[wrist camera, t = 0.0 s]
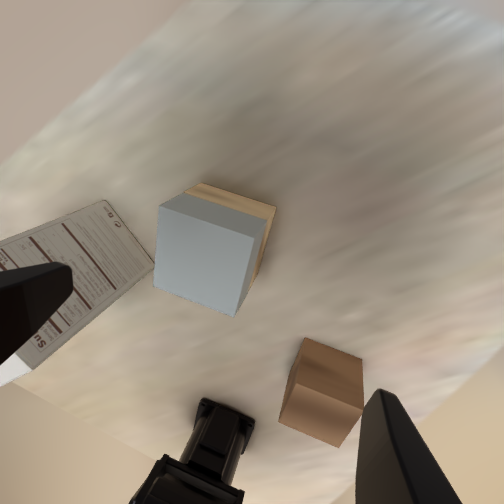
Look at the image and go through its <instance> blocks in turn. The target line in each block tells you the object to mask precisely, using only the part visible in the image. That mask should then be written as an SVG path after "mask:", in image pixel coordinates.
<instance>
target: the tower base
mask: <svg viewBox="0 0 504 504" xmlns="http://www.w3.org/2000/svg"><path fill="white" fill-rule="evenodd" d="M184 193H185V194H188V195H191V196H194V197H197V198H200V199H204V200H207V201H210V202H213V203H216V204H219V205H222V206H225V207H228V208H231V209H234V210H237V211H240V212H243V213H246V214H249V215H252V216H255V217H258V218H261V219H264V220H267V223H266V227H265V230H264V234H263V238H262V242H261V245H260V249H259V253H258V256H257V260H256V264H255V267H254V271H253V275H252V278H251V282H250V286H249V289H250V287H251V285H252V284H253V282H254V280H255V278H256V276H257V274H258V271H259V267H260V264H261V260H262V257H263V253H264V250H265V246H266V243H267V239H268V235H269V232H270V228H271V225H272V221H273V218H274V214H275V211H276V207H274V206H271V205H268V204H265V203H262V202H259V201H256V200H253V199H250V198H247V197H243V196H240V195H237V194H234V193H231V192H228V191H225V190H222V189H219V188H216V187H213V186H210V185H206V184H203V183H199V184H198V185H196V186H194V187H192V188H190V189H188V190H186V191H184ZM249 289H248V291H249Z"/></svg>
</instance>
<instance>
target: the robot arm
mask: <svg viewBox="0 0 504 504" xmlns="http://www.w3.org/2000/svg"><path fill="white" fill-rule="evenodd" d="M73 289H74V285H73V274H72V268H71V267H70V266H69V265H66V264H64V263H61V262H58V261H55V262H49V263H44V264H38V265H32V266H27V267H21V268H16V269H10V270H5V271H0V365H1V364H3V363H4V362H5V361H6V360H7V359H8V358H9V357H10V356H11V355H13V354H14V353H15V352H16V351H17V350H18V349H19V348H20V347H22V346H23V345H24V344H25V343H26V342H27V341H28V340H29V339H30V338H31V337H32V336H33V335H34V334H35V333H36V332H37V331H38V330H39V329H40V328H41V327H42V326H43V325H44V324H45V323H46V322H47V321H48V319H49V318H50V317H51V316H52V315H53V314H54V313H55V312H56V311H57V310H58V309H59V308H60V307H61V305H62V304H63V303H64V302H65V301H66V300H67V299H68V298H69V297H70V296H71V294H72V292H73ZM254 426H255V421H254V420H252V419H250V418H248V417H245V416H243V415H241V414H238V413H236V412H234V411H232V410H229V409H227V408H225V407H222V406H220V405H218V404H215V403H213V402H211V401H209V400H206V399H201V401H200V403H199V407H198V411H197V415H196V420H195V424H194V429H193V432H192V435H191V437H190V439H189V441H188V443H187V445H186V447H185V449H184V451H183V453H182V455H181V458H180V460H179V461H177V460H175V459H173V458H171V457H169V455H167V454H164V455H163V457H162V458H161V460H157V461H156V463H155V465H154V467H153V469H152V470H151V472H150V474H149V476H148V477H147V479H146V480H145V481H144V483H143V484H142V485H141V487H140V488H139V489H138V491H137V492H136V493H135V495H134V496H133V497H132V499H131V500H130V502H129V504H242V502H243V498H244V493H245V491H243V490H241V489H240V490H238V489H236V488H234V487H232V486H231V484H232V481H233V477H234V474H235V471H236V468H237V465H238V461H239V458H240V455H242V454H244V451H245V449H246V446H247V444H248V441H249V439H250V436H251V434H252V431H253V429H254ZM355 492H356V494H355V496H356V504H462V502H461V501H460V499H459V498H458V496H457V494H456V493H455V491H454V489H453V488H452V486H451V484H450V483H449V481H448V479H447V478H446V476H445V474H444V473H443V471H442V470H441V468H440V466H439V465H438V463H437V461H436V460H435V458H434V456H433V455H432V453H431V452H430V450H429V448H428V447H427V445H426V443H425V442H424V440H423V438H422V437H421V435H420V434H419V432H418V430H417V429H416V427H415V425H414V424H413V422H412V420H411V419H410V417H409V415H408V414H407V412H406V411H405V409H404V407H403V406H402V404H401V402H400V401H399V399H398V398H397V396H396V395H395V394H393V393H391V392H388V391H386V390H383V389H377V390H376V391H375V392H374V394H373V395H372V397H371V398H370V400H369V401H368V402H367V404H366V405H365V407H364V409H363V412H362V419H361V429H360V439H359V449H358V459H357V469H356V490H355Z"/></svg>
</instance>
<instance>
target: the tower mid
mask: <svg viewBox="0 0 504 504" xmlns="http://www.w3.org/2000/svg"><path fill="white" fill-rule="evenodd" d="M266 223H267V220H264V219H261V218H258V217H255V216H252V215H249V214H246V213H243V212H240V211H237V210H234V209H231V208H228V207H225V206H222V205H219V204H216V203H213V202H210V201H207V200H204V199H200V198H197V197H194V196H191V195H188V194H185V193H182V194H180V195H178V196H176V197H174V198H173V199H171V200H169V201H167V202H165V203H163V204H161V205H159V213H158V226H157V240H156V253H155V267H154V280H153V287H156V288H159V289H161V290H164V291H166V292H169V293H172V294H174V295H177V296H179V297H182V298H185V299H187V300H190V301H192V302H195V303H198V304H200V305H203V306H205V307H208V308H211V309H213V310H216V311H218V312H221V313H224V314H226V315H229V316H231V317H235V315H236V313H237V311H238V310H239V308H240V306H241V304H242V302H243V300H244V299H245V297H246V295H247V293H248V289H249V286H250V282H251V278H252V275H253V271H254V267H255V264H256V260H257V256H258V253H259V249H260V245H261V242H262V238H263V234H264V230H265V227H266Z"/></svg>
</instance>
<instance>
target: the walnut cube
mask: <svg viewBox="0 0 504 504" xmlns="http://www.w3.org/2000/svg"><path fill="white" fill-rule="evenodd" d="M363 409H364V391H363V369H362V359H360V358H357V357H355V356H352V355H350V354H347V353H344V352H342V351H339V350H336V349H334V348H331V347H329V346H326V345H323V344H321V343H318V342H316V341H313V340H310V339H308V338H305V339H304V341H303V343H302V346H301V348H300V350H299V353H298V355H297V357H296V360H295V362H294V364H293V366H292V369H291V371H290V373H289V377H288V381H287V385H286V390H285V394H284V399H283V403H282V408H281V412H280V416H279V421H278V422H279V423H282V424H284V425H286V426H289V427H291V428H293V429H296V430H298V431H300V432H303V433H305V434H307V435H309V436H312V437H314V438H316V439H319V440H321V441H323V442H326V443H328V444H330V445H333V446H335V447H337V448H339V447H340V445H341V444H342V443H343V441H344V440H345V438H346V437H347V435H348V434H349V432H350V431H351V429H352V428H353V427H354V425H355V424H356V422H357V421H358V419H359V418H360V416H361V415H362V412H363Z"/></svg>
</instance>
